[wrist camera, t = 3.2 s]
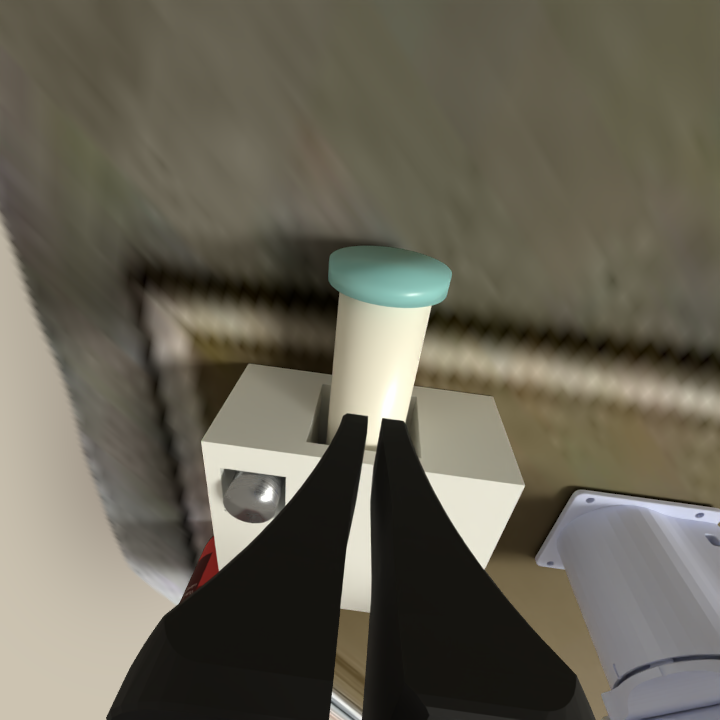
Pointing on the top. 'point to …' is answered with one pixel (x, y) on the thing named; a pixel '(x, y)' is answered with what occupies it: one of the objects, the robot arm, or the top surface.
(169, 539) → the top surface
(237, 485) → the plunger
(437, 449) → the housing
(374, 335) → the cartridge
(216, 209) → the top surface
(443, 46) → the top surface
